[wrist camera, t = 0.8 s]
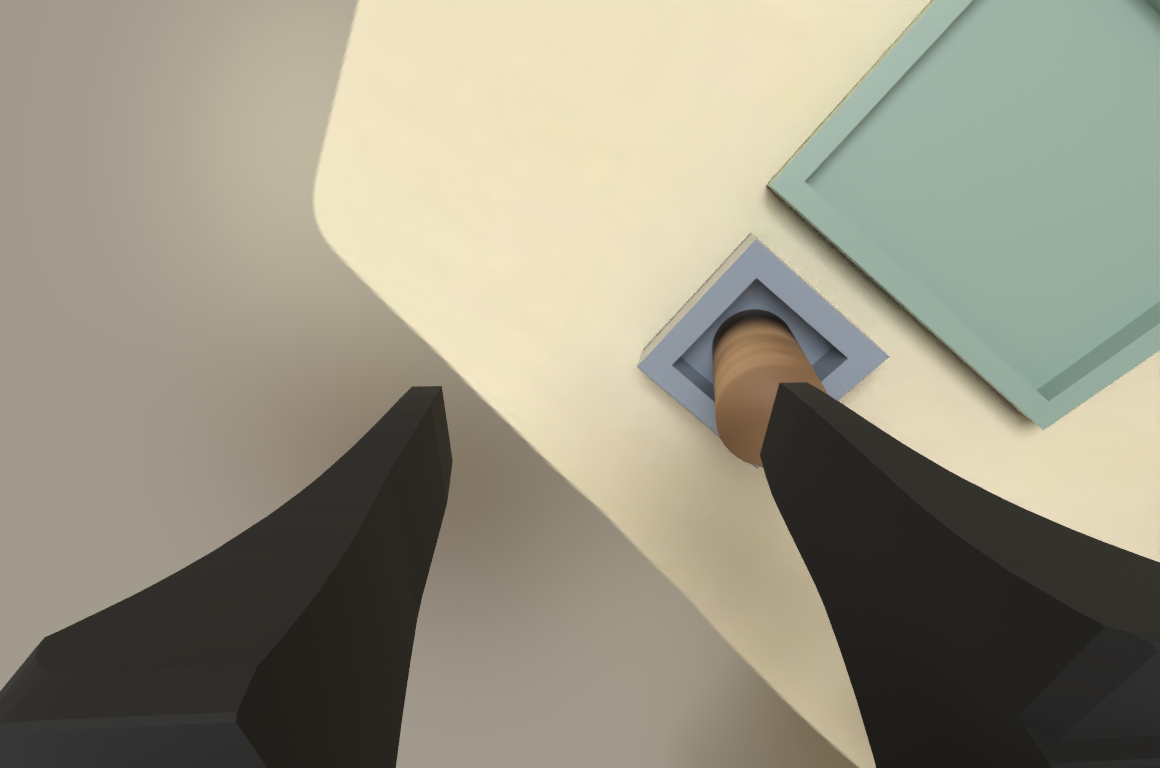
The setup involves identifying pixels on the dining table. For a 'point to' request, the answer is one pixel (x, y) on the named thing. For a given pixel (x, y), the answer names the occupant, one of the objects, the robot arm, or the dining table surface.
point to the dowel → (753, 377)
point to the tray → (1006, 189)
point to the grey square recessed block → (766, 285)
